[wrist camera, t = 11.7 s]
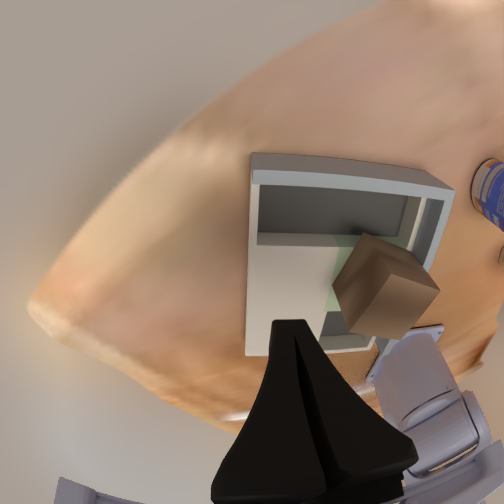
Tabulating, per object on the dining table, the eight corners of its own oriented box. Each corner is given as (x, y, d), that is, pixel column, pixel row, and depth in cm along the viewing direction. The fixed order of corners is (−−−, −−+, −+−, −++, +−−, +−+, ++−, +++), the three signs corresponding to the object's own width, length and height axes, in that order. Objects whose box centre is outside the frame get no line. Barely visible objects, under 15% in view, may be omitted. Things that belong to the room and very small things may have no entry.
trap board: (371, 334, 28) (382, 364, 24) (245, 339, 27) (245, 373, 24) (425, 171, 18) (455, 190, 15) (251, 152, 18) (253, 169, 14)
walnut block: (379, 297, 22) (400, 340, 18) (331, 285, 21) (348, 331, 17) (410, 251, 20) (440, 290, 16) (363, 232, 19) (391, 273, 15)
